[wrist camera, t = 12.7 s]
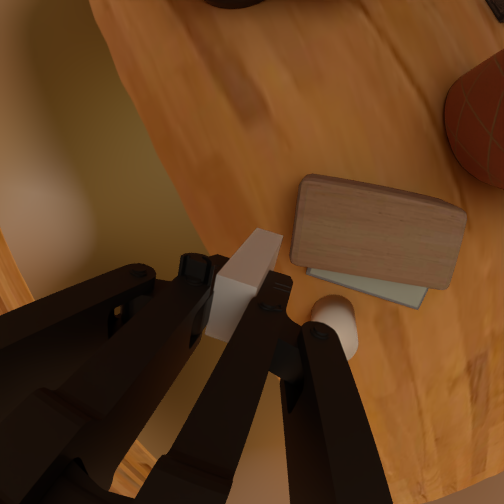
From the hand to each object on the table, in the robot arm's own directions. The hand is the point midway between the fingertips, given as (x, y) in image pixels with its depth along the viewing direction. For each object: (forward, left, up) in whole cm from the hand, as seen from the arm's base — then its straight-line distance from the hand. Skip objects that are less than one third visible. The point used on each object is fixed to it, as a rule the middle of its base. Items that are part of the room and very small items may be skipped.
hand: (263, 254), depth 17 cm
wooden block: (0, -2, -22) cm, 22 cm away
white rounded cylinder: (+11, -17, -29) cm, 35 cm away
